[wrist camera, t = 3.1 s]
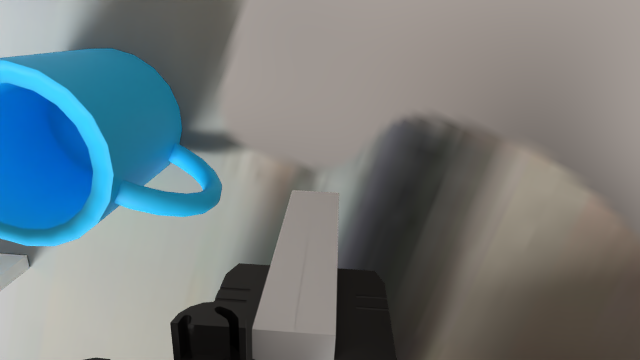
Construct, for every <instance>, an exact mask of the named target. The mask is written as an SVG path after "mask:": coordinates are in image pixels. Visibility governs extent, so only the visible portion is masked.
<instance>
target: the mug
mask: <svg viewBox="0 0 640 360" xmlns="http://www.w3.org/2000/svg"><path fill="white" fill-rule="evenodd" d="M181 133H182V124H181V116H180V109H179V106H178V104H177V101H176V99H175V97H174V95H173V93H172V91H171V88H170V86H169V85H168V84H167V83H166V82H165V81H164V79H163V78H162V77H161V76H160V75H159V73H158V72H157V71H156V70H155V69H154V68H153V67H151V66H150V65H148V64H147V63H145V62H144V61H142V60H141V59H139V58H138V57H136V56H135V55H132V54H129V53H126V52H123V51H119V50H116V49H113V48H96V49H82V50H72V51H63V52H53V53H44V54H34V55H25V56H15V57H5V58H0V239H4V240H7V241H11V242H15V243H18V244H22V245H25V246H56V245H60V244H63V243H66V242H69V241H72V240H75V239H78V238H80V237H81V236H82V235H84V234H85V233H86V232H87V231H89V230H90V229H91V228H92V227H94V226H95V225H96V224H97V223H99V222H100V221H101V220H102V219H104V218H105V217H106V216H107V215H108V214H110V213H111V212H112V211H113V210H115V209H116V208H117V207H118V206H119V205H121V206H124V207H126V208H129V209H133V210H138V211H142V212H146V213H151V214H155V215H164V216H179V217H186V216H192V215H198V214H203V213H205V212H207V211H208V210H210V209H211V208H213V207H214V206H216V205H217V204H218V202H219V200H220V196H221V191H222V184H221V182H220V180H219V178H218V176H217V174H216V172H215V171H214V170H213V169H212V168H211V167H210V166H209V165H208V164H207V163H206V162H205V161H204V160H203V159H201V158H200V157H199V156H197V155H196V154H194V153H193V152H191V151H190V150H188V149H187V148H185V147H183V146H181V145H179V144H180V138H181ZM170 162H171V163H173V164H175V165H177V166H178V167H180V168H181V169H183V170H184V171H185V172H187V173H188V174H190V175H191V176H192V177H193V178H194V179H195V180H196V181H197V182H198V183H199V184H200V185H201V187H202V189H203V191H202V192H198V193H189V194H184V193H174V192H164V191H160V190H156V189H152V188H148V187H144V185H145V184H146V183H148V182H149V181H150V180H151V179H152V178H154V177H155V176H156V175H157V174H159V173H160V172H161V171H162V170H163V169H165V168H166V167H167V166H168V165H169V164H170Z"/></svg>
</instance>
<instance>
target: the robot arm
mask: <svg viewBox="0 0 640 360" xmlns="http://www.w3.org/2000/svg"><path fill="white" fill-rule="evenodd" d="M338 213H339V193H332V192H315V191H298V190H292V193H291V197H290V200H289V204H288V207H287V210H286V214H285V217H284V221H283V224H282V228H281V231H280V235H279V238H278V241H277V245H276V248H275V252H274V255H273V259H272V262H271V265H256V264H240V263H239V264H238V265H237V266H235V267H234V268H233V269H232V270H231V271H229V272H228V273H227V274H226V276H225V278H224V280H223V282H222V284H221V287H220V290H219V291H218V293H217V295H216V298H215V301H214V302H206V303H201V304H198V305H194V306H191V307H189V308H187V309H185V310H184V311H182V312H180V313H179V314H178V315H177V316H176V317H175V318H174V319H173V320H172V322H171V323H170V324H171V334H172V344H173V354H174V360H397V357H396V353H395V346H394V340H393V333H392V327H391V321H390V314H389V311H388V309H389V308H388V301H387V295H386V289H385V283H384V282H383V280H382V279H381V278H380V277H379V276H378V274H377V273H376V272H375V271H369V270H353V269H338V268H337V257H338ZM85 360H110V359H103V358H91V359H85Z"/></svg>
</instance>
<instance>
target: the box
mask: <svg viewBox="0 0 640 360" xmlns="http://www.w3.org/2000/svg"><path fill="white" fill-rule="evenodd" d="M28 269H29V263H28V259H27V255H14V254H0V291H1V290H2V289H4V288H5V287H6V286H7V285H9V284H10V283H11V282H12V281H14V280H15V279H16V278H18V277H19V276H20V275H21V274H23V273H24V272H25V271H26V270H28Z"/></svg>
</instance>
